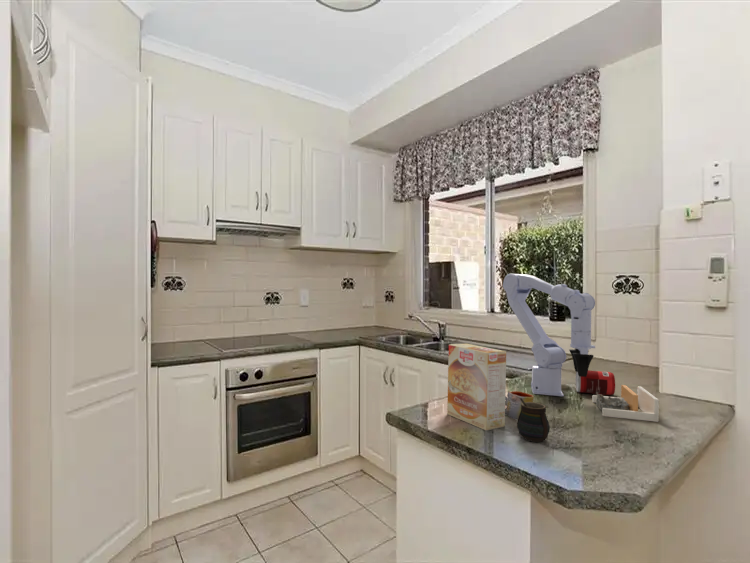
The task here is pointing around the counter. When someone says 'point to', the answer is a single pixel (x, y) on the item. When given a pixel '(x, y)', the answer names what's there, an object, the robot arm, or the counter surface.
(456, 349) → the coffeecake box
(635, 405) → the pusher plate
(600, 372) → the canned food
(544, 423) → the mate gourd
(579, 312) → the robot arm
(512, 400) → the mug
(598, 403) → the egg carton
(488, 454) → the counter surface
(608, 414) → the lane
